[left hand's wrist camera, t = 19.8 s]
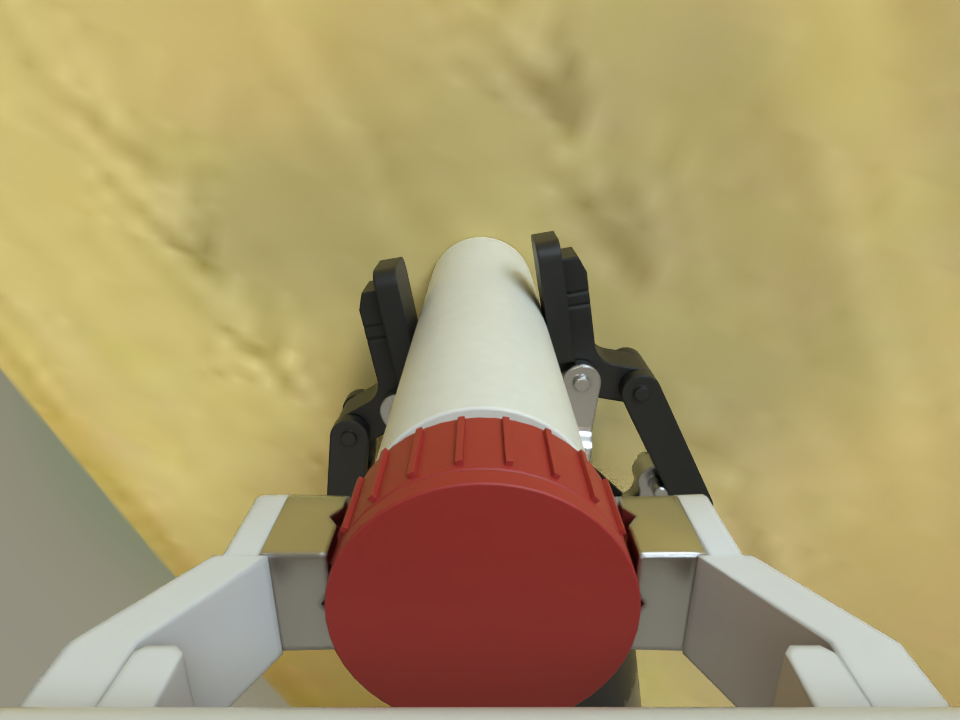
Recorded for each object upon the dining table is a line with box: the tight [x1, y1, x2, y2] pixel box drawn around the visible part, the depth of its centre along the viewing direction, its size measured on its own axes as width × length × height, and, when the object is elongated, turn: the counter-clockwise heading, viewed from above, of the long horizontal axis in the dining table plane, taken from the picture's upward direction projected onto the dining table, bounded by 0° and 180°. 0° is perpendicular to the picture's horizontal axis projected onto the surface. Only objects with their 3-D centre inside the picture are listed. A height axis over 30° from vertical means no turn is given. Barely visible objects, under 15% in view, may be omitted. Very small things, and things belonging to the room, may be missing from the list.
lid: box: [324, 416, 641, 707], centre depth 10 cm, size 5×5×2 cm
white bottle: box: [376, 237, 588, 461], centre depth 17 cm, size 4×4×17 cm
